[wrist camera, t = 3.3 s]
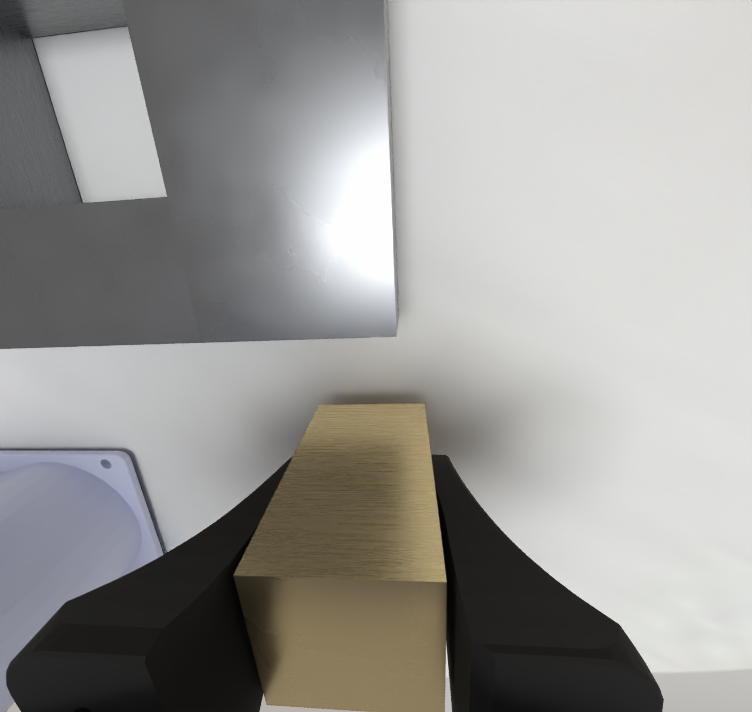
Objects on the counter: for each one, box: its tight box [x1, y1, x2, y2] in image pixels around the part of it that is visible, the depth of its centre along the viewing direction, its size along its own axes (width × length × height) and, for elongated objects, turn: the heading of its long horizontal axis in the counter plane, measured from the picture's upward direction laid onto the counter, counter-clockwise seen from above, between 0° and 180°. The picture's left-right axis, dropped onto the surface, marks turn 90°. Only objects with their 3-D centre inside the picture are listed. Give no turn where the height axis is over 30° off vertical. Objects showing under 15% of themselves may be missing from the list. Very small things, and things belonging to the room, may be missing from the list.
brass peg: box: [233, 403, 447, 712], centre depth 10 cm, size 4×4×7 cm
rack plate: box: [0, 0, 399, 349], centre depth 10 cm, size 18×14×3 cm
